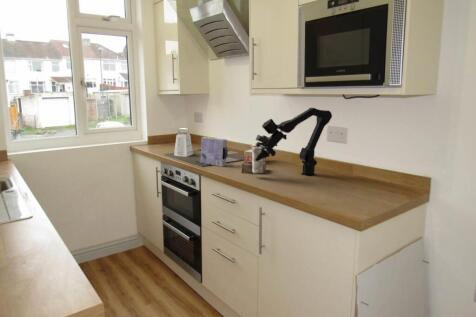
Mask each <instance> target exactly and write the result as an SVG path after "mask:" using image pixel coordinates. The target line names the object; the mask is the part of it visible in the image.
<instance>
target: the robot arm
mask: <svg viewBox="0 0 476 317" xmlns="http://www.w3.org/2000/svg"><path fill="white" fill-rule="evenodd" d="M313 116H314V117H316V123H315V124H316V125H315V126H314V129H313V131H312V134H311V135H310V137H309V140H308V143H307V145H306V146H305V147H302V148H301V150H300V152H299V157H298V158H300V159H299V160H301V164H302V172H301V173H300V174H301V175H304V176H308V177H310V176H316V175H317V173H315V172H316V171H315V170H316V169H315V168H316V166H317V164H318V161H317V160H316V159H315V158H314V157H315V154H316V153H315V149H316V146H317V144H318V142H319V140H320V138H321V135H322V132H323V131H324V128H325V126H326V125H328V124H329V123H330V121H331V119H332V118H333V114H332V112H331V111H330V110H326V109H318V108H315V107H309V108H308V109H306V110H305V111H303V112H302V113H300V114H298V115H297V116H294V117H293V118H292V119H291V118H290V119H288V120H285V121H282V122H280V123H279V124H277V123H275V121H274V120H273V119H272V118H270V119H269V120H267V121H265V122H263V124H262V126H261V127H262V129H263V130H264V131H266V133H267V134H268V135H270V136H266V135H265V134H264V135H260V134H257V135H256V138H255V141H257V142H256V143H254V144H255V145H256V146H257V147H262V148H261V153H260V154H259V156H258V157H257V158H256V161H258V160H261V159H263V158H266V159H267V158H268V157H273V158H274V157H275V156H276V154H277V151H275V149H274V148H275V147H278V144H279V142H281V140H282V139H283V140H284V141H285V140H287V139H288V138H287V136H288V135H287V134H289V133H291V132H293V131H294V129H295V128H296V127H297V126H298V125H300V124H301V123H303V122H304V121H306V120H308V119H310V118H312V117H313ZM284 133H285V134H284Z"/></svg>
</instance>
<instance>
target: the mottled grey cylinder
mask: <svg viewBox="0 0 476 317" xmlns="http://www.w3.org/2000/svg"><path fill="white" fill-rule="evenodd" d="M261 148H262V147H252V172H253V173H252V174H255V173H263V159H261V160H258V161H256V158H257V157H258V156H259V154H260V153H261Z"/></svg>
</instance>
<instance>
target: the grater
mask: <svg viewBox="0 0 476 317" xmlns="http://www.w3.org/2000/svg"><path fill="white" fill-rule="evenodd" d="M181 130H186V133H181ZM192 155H194V153H193V146H192V139H191V134H190V129H189V128H184V127H183V128H181V127H180V128H178V129H177V134H176V137H175V145H174V153H173V156H175V157H184V158H185V157H189V156H192Z"/></svg>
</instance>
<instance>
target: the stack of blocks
mask: <svg viewBox="0 0 476 317" xmlns="http://www.w3.org/2000/svg"><path fill="white" fill-rule="evenodd" d="M255 144H256V143H254V144H251V145H250V149H248V150H245V151H244V153H243V154H244V156H243V163H244V162H245V161H252V147H257V146H256V145H255ZM266 161H267V157H266V158H263V162H266Z"/></svg>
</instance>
